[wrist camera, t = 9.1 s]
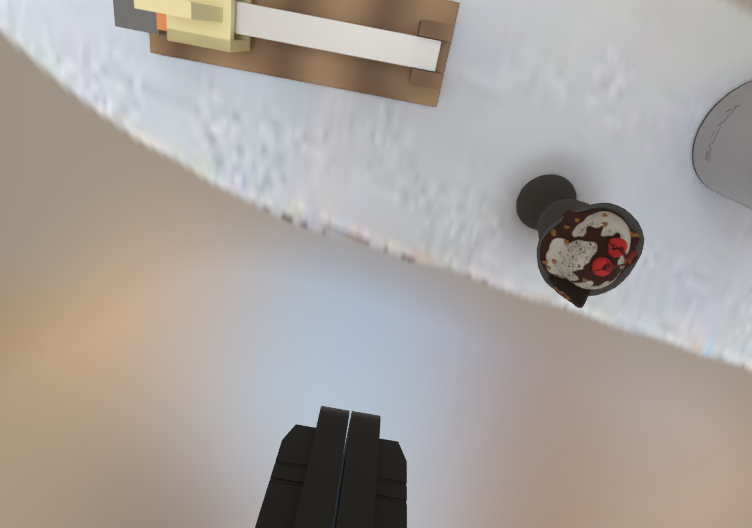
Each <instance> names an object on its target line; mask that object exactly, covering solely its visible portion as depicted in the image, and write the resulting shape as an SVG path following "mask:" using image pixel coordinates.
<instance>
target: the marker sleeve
mask: <svg viewBox="0 0 752 528" xmlns="http://www.w3.org/2000/svg"><path fill="white" fill-rule="evenodd" d="M235 1H237V2H243V3H248V4H252V0H134V8H136V9H141V10H146V11H152V12H157V13H162V14H166V22H167V40H168V41H173V42H178V43H184V44H189V45H194V46H199V47H204V48H210V49H215V50H220V51H225V52H246V51H250V36H247V35H242V34H237V33H234V27H235Z"/></svg>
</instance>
